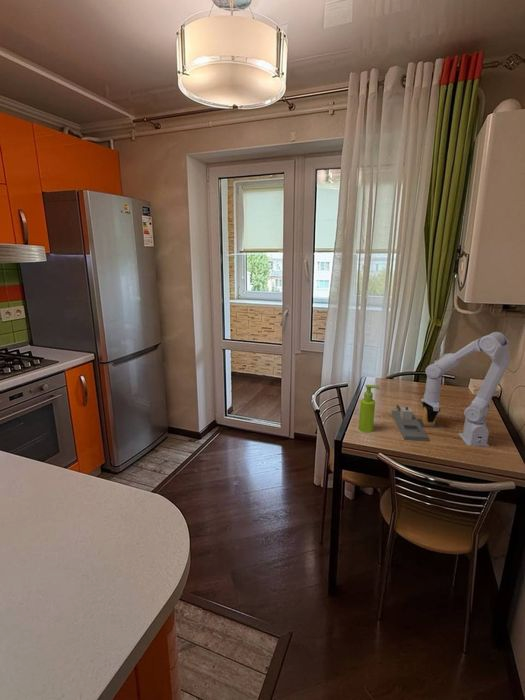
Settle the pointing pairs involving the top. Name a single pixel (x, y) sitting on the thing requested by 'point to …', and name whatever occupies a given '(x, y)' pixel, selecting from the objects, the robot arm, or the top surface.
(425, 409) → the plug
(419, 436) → the grey panel with knob
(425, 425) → the mat
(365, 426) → the soap dispenser
